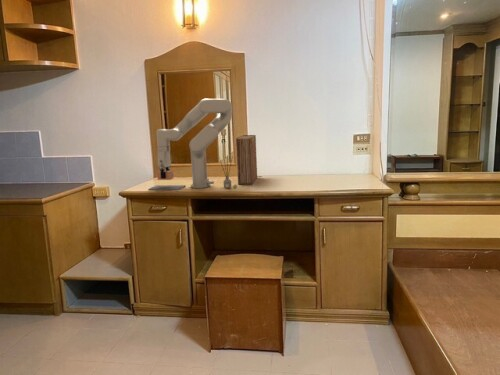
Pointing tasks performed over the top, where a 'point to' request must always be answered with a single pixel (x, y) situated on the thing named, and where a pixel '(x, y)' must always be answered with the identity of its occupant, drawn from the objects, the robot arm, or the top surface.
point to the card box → (168, 175)
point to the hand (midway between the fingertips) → (165, 177)
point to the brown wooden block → (246, 159)
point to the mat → (167, 187)
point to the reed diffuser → (227, 177)
